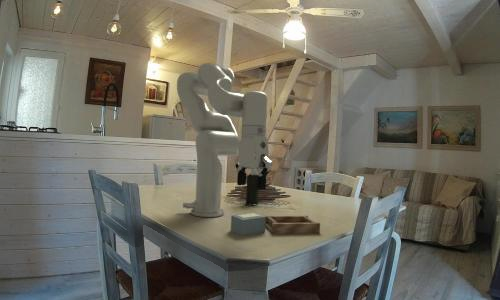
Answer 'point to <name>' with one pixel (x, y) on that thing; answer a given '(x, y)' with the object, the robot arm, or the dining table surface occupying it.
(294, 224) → the wooden tray
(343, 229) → the dining table surface
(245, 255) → the dining table surface
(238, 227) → the grey block
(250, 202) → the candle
